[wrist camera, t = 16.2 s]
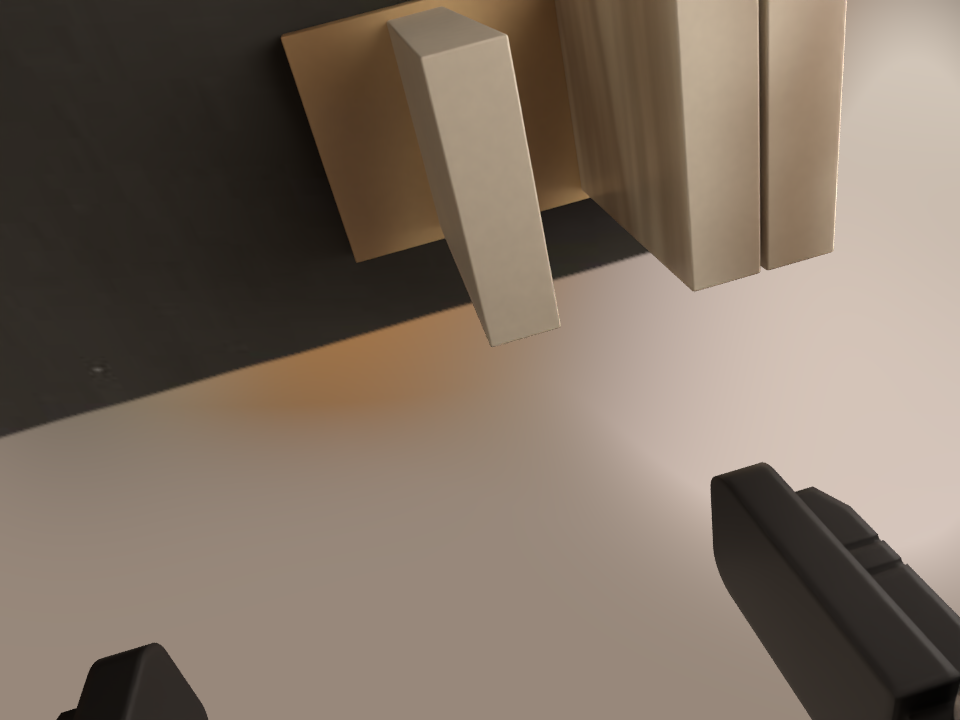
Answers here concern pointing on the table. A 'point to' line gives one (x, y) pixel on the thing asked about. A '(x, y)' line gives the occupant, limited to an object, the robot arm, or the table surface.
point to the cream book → (478, 166)
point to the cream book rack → (611, 123)
